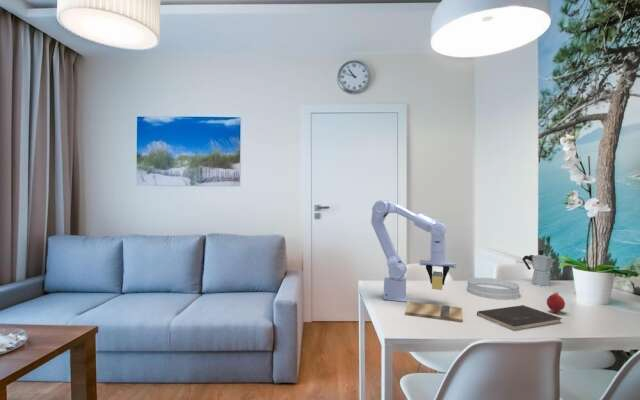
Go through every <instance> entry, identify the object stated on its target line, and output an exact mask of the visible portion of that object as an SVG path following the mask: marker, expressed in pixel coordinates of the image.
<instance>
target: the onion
mask: <svg viewBox="0 0 640 400" xmlns="http://www.w3.org/2000/svg"><path fill="white" fill-rule="evenodd" d="M546 305H547V307H548V309H549V310H551V311H552V312H554V313H559V312H560V311H562V310H564V309H565V306H566V302H565V300H564V298H562V296H560V294H559V292H557V291H555V292H553V293H552V294H551V295H549V296H548V297H547V299H546Z"/></svg>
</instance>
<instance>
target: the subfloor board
mask: <svg viewBox="0 0 640 400" xmlns="http://www.w3.org/2000/svg"><path fill="white" fill-rule="evenodd" d="M404 314H405V315H406V316H414V317H421V318H429V319H436V320H443V321H449V322H451V321H452V322H460V323H463V319H464V318H463V307H457V306H450V305H445V304H432V303H422V302H415V301H414V302H413V301H409V303H408V305H407V307H406V309H405V312H404Z"/></svg>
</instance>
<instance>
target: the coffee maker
mask: <svg viewBox="0 0 640 400" xmlns="http://www.w3.org/2000/svg"><path fill="white" fill-rule="evenodd" d="M544 252H545V251H544V250H542V249H540V250H538V254H536V255H534V254H530V255H524V256H523V257H522V262H523V263H524V264H525V266H526V268H527V270H528V271H529V270H531V269H533V273H532V278H531V283H532V284H534V285H533V286H535V285H540V286H550V285H552V284H551V279H550V273H549V271H550V269H551V266H552V265H553V263H554V262H555V261H556V259H555V258H554V259H553V258H551V257H550V256H547V255H544ZM527 260H528V261H529V262H531V263H532V268H531V267H530V265H529V263H528V262H527ZM532 284H531V285H532ZM540 286H539V287H540ZM550 287H551V286H550Z"/></svg>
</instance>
